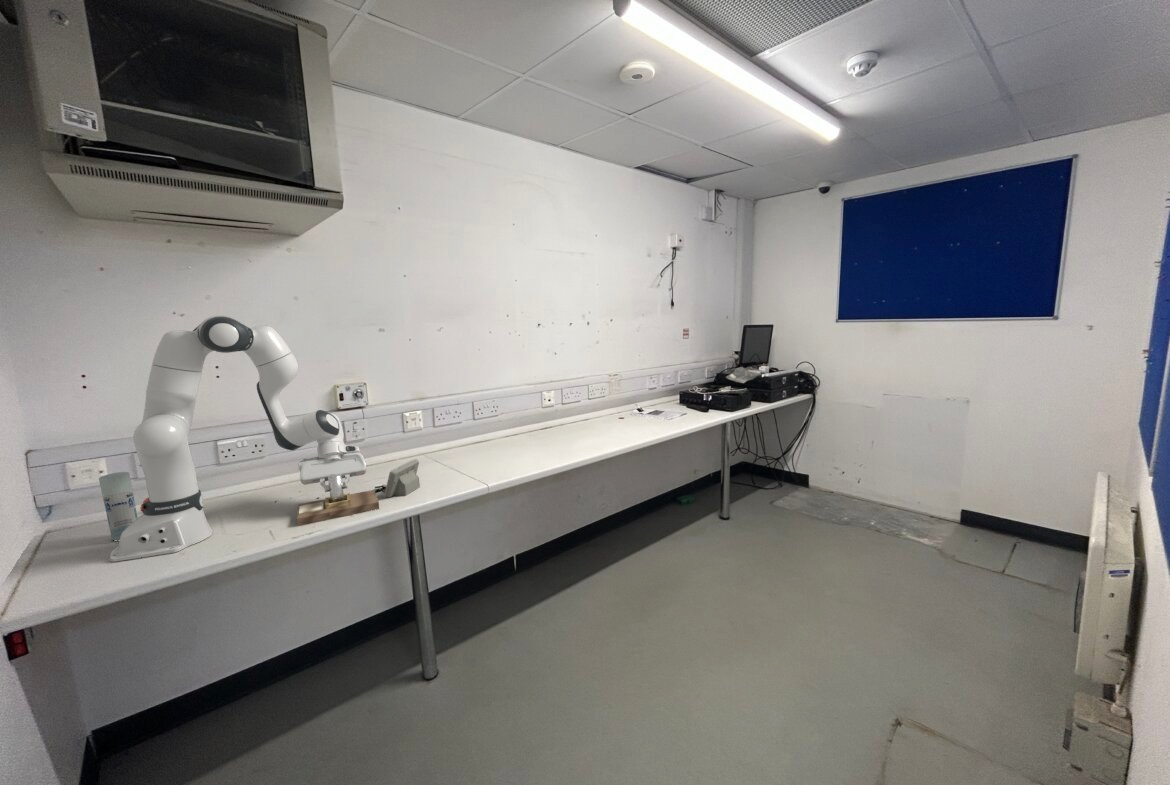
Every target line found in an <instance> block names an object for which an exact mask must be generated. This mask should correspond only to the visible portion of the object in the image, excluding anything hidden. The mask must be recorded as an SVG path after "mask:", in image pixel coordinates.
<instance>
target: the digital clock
mask: <svg viewBox="0 0 1170 785" xmlns="http://www.w3.org/2000/svg"><path fill="white" fill-rule="evenodd" d="M419 464H420V461H419V459H417V458H414V459H411V460H409V461H407V462H406V463H404V464H401V465H399V466H398V467H396V468H394V469H391V470H390V472H389V474H388V478H387V482H386V487H385V490H384V496H385V497H386V498H391V497H393V496H404V497H407V496H408V495H410V494H411V493H413V492H414V491H416V490H418V489H419V488H420V484H421V483H420V477H419V475H418V474H417V472H418V469H419V466H420V465H419Z"/></svg>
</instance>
